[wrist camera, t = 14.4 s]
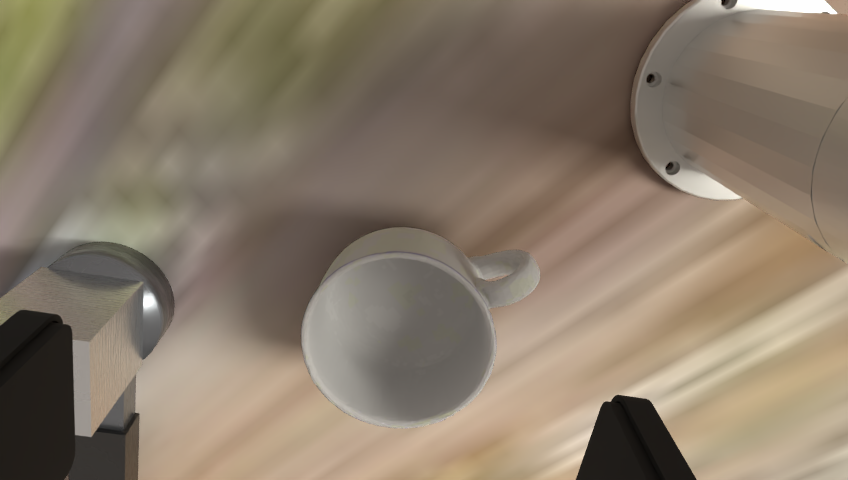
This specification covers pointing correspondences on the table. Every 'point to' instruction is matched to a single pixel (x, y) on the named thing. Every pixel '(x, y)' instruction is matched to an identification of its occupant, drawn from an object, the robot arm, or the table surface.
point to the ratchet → (119, 431)
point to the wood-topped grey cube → (89, 333)
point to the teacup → (408, 325)
